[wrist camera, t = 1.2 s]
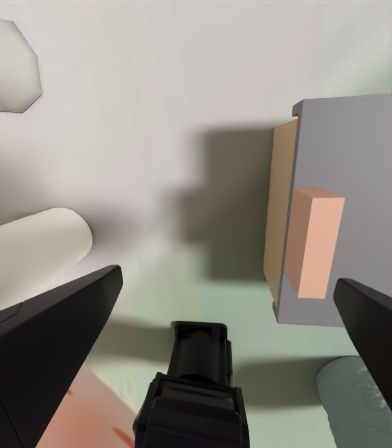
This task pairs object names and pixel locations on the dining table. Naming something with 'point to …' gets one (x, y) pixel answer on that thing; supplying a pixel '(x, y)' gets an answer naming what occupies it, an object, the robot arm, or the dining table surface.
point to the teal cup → (354, 405)
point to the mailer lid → (337, 206)
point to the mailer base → (278, 203)
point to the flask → (17, 70)
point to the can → (39, 252)
